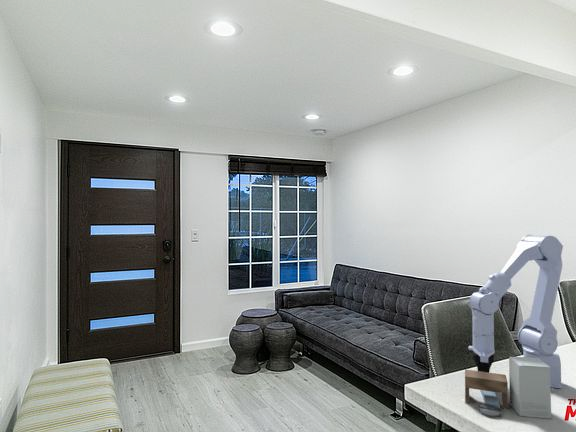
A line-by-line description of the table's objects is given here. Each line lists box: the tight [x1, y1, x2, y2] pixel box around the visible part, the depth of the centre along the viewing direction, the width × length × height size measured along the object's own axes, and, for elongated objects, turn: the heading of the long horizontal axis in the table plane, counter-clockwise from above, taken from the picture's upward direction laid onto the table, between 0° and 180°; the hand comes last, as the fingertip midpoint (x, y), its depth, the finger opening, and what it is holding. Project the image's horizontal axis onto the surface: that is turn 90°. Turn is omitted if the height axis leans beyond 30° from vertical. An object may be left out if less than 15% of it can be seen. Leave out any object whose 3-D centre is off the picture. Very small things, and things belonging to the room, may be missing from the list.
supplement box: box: [508, 356, 552, 420], centre depth 103 cm, size 7×7×13 cm
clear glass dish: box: [478, 403, 502, 419], centre depth 102 cm, size 5×5×1 cm
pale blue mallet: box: [479, 390, 501, 409], centre depth 111 cm, size 4×16×4 cm, turn 162°
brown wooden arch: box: [464, 368, 509, 410], centre depth 108 cm, size 10×6×7 cm, turn 66°
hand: (483, 379), depth 119 cm, fingers closed
